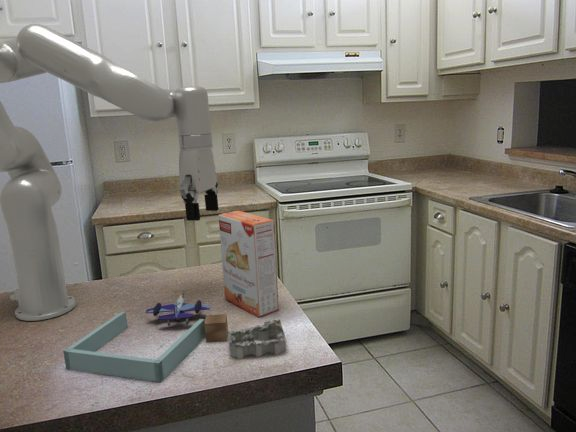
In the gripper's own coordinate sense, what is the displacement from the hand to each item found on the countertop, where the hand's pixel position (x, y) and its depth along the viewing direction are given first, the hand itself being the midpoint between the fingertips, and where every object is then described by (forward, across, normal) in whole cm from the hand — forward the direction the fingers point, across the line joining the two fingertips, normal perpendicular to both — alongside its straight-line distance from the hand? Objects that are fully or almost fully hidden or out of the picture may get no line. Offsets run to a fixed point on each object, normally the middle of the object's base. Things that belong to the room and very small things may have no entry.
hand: (203, 215), depth 114 cm
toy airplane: (+20, +15, 0) cm, 25 cm away
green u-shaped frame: (+19, +30, 0) cm, 35 cm away
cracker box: (+20, +6, +12) cm, 24 cm away
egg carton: (+20, +24, +21) cm, 38 cm away
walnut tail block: (+20, +22, +12) cm, 31 cm away
